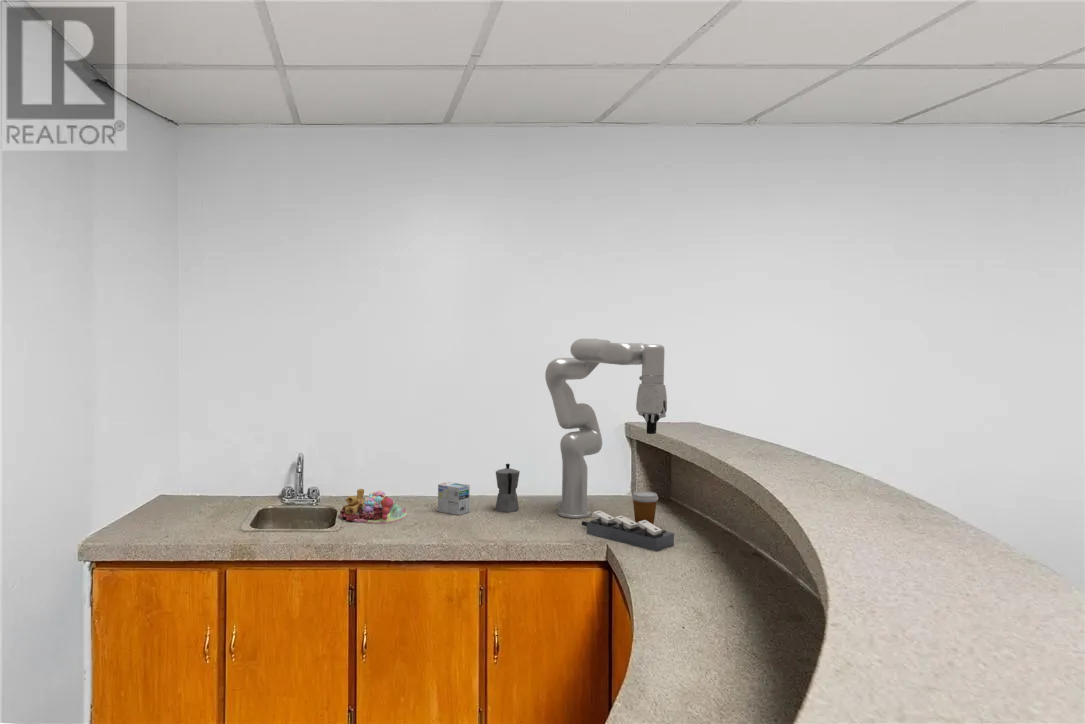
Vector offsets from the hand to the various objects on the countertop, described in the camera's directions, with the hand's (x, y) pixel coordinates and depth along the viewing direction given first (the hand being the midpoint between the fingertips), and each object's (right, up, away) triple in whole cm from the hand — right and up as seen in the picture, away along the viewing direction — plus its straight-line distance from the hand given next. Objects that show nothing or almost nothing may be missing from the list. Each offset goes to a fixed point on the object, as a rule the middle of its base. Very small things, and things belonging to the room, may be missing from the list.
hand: (651, 433), depth 260 cm
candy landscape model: (-100, -33, +21) cm, 108 cm away
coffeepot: (-51, -33, +33) cm, 69 cm away
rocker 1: (-16, -29, 0) cm, 33 cm away
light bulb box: (-71, -33, +28) cm, 84 cm away
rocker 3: (-3, -29, -13) cm, 32 cm away
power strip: (-10, -35, -3) cm, 37 cm away
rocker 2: (-9, -29, -7) cm, 31 cm away
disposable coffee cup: (-1, -35, +11) cm, 37 cm away
